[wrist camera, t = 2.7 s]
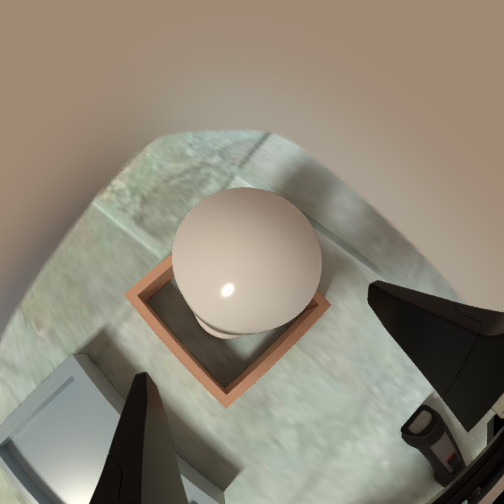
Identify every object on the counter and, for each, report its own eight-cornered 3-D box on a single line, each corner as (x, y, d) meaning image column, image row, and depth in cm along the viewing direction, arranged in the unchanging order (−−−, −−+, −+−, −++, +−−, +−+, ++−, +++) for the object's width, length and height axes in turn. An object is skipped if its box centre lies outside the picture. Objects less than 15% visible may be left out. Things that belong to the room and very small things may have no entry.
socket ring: (317, 309, 20) (331, 304, 18) (224, 400, 18) (226, 408, 15) (230, 219, 22) (233, 204, 19) (134, 300, 19) (124, 294, 17)
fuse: (271, 308, 20) (349, 260, 9) (225, 352, 19) (246, 365, 7) (228, 263, 21) (251, 164, 9) (181, 304, 19) (141, 247, 8)
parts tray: (223, 491, 15) (225, 507, 13) (112, 553, 11) (105, 567, 9) (87, 353, 17) (72, 354, 15) (0, 437, 13) (-16, 442, 11)
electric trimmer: (445, 501, 16) (463, 509, 13) (394, 432, 18) (416, 440, 15) (467, 475, 17) (485, 481, 14) (422, 400, 19) (445, 404, 16)
